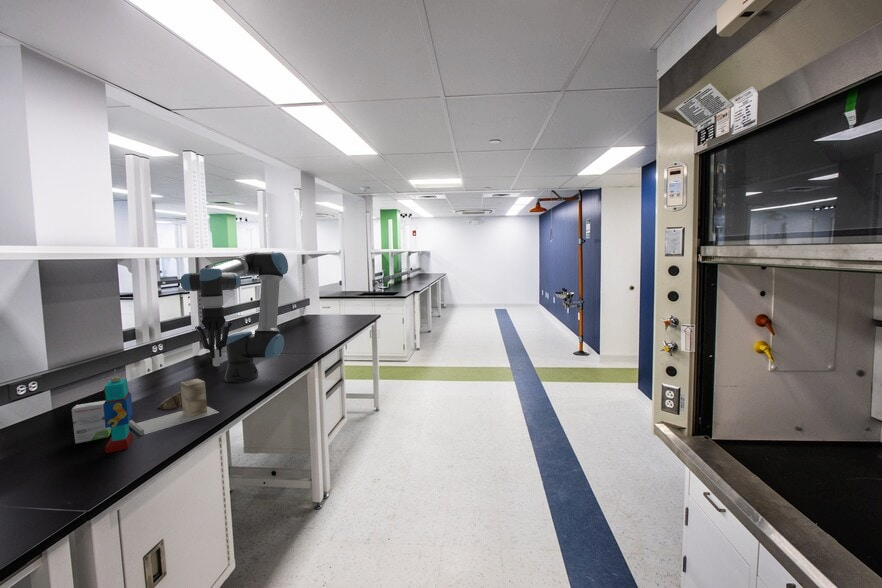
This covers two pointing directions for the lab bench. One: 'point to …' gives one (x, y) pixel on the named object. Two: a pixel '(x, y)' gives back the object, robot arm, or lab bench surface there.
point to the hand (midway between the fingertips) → (216, 365)
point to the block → (193, 397)
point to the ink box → (89, 422)
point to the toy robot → (118, 413)
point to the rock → (172, 401)
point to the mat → (165, 421)
